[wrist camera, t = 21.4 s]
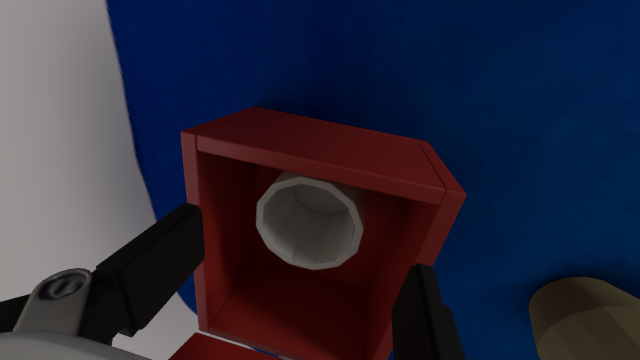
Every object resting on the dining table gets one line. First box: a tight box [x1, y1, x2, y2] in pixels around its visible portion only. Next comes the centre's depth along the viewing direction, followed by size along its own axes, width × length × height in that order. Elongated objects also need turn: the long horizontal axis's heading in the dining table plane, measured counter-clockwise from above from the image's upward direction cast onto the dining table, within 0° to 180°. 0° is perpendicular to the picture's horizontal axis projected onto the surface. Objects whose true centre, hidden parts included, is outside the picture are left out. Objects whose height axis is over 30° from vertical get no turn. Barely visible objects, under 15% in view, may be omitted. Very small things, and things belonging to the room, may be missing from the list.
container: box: [256, 170, 366, 270], centre depth 16 cm, size 6×6×6 cm
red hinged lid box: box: [181, 106, 467, 360], centre depth 17 cm, size 15×13×8 cm
